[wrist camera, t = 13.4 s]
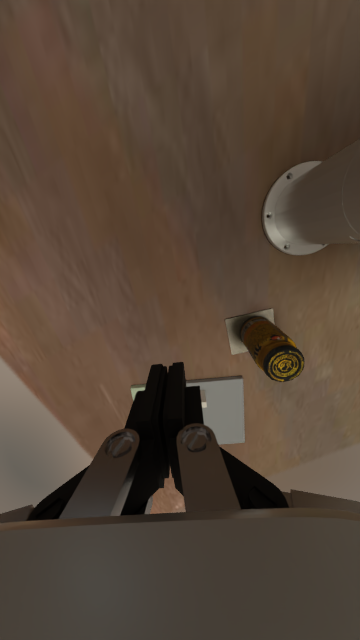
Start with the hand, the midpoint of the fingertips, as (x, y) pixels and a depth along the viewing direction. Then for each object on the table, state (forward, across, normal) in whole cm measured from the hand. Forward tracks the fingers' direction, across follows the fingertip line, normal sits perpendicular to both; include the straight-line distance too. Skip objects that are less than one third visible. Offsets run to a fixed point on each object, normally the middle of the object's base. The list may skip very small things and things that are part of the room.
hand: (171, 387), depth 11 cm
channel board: (+27, +1, +26) cm, 38 cm away
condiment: (+27, -12, +9) cm, 31 cm away
